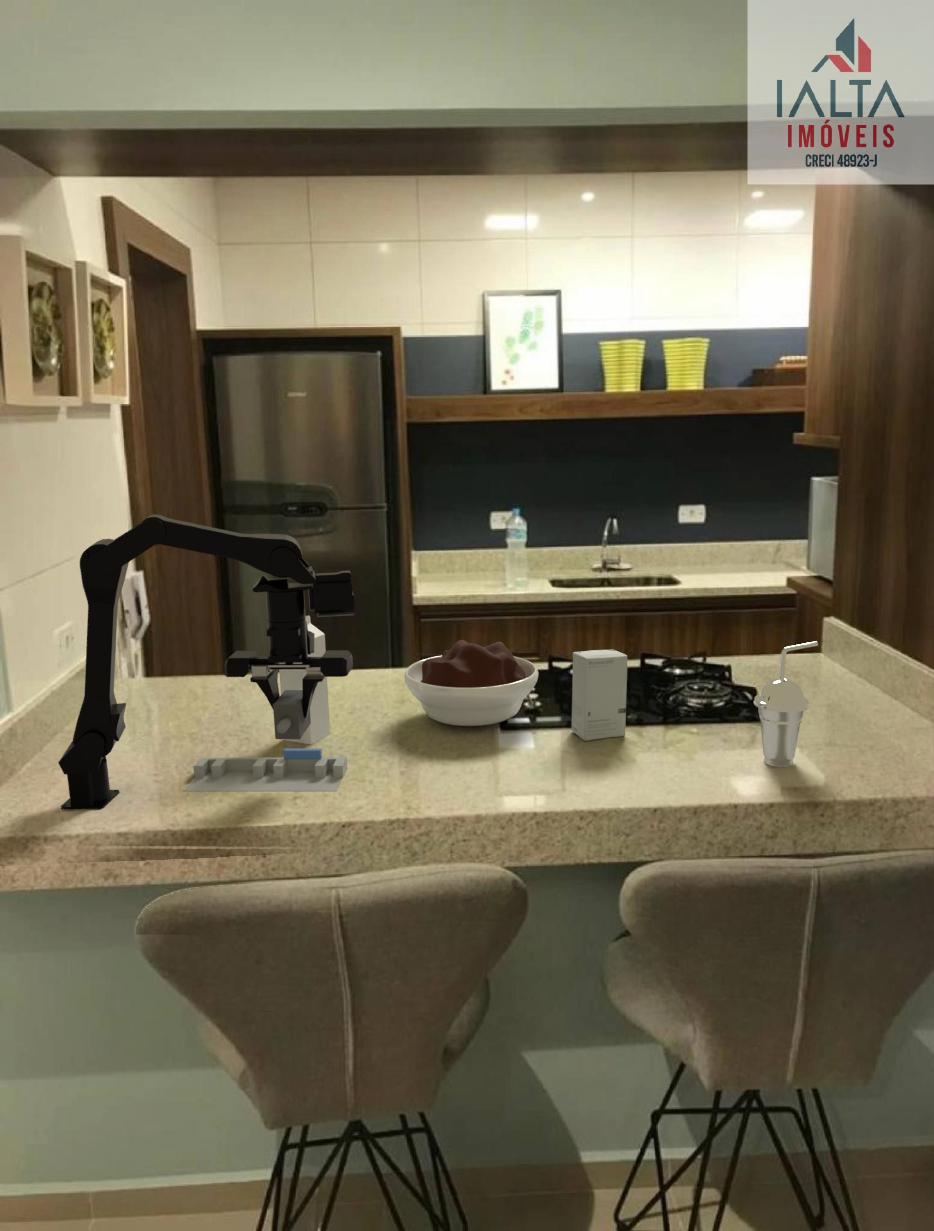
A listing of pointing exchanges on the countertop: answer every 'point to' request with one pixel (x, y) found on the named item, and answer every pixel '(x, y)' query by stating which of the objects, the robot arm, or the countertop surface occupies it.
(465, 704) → the white bowl
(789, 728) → the cup with straw
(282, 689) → the milk
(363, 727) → the countertop surface
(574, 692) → the skincare box
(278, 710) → the dark grey knobbed block
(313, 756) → the grey toothed rack
